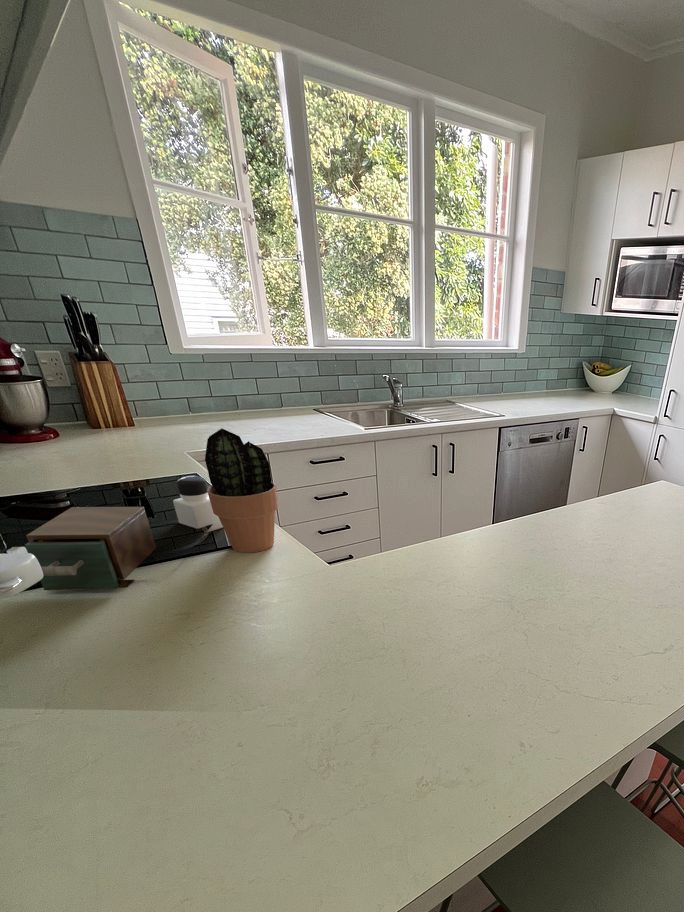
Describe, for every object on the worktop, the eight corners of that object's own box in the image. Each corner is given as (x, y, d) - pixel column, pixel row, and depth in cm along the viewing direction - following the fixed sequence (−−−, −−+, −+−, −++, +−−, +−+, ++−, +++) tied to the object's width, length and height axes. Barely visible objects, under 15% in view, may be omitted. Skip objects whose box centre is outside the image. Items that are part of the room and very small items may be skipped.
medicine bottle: (225, 527, 131) (214, 477, 125) (199, 535, 126) (186, 484, 119) (206, 521, 134) (194, 472, 128) (180, 529, 129) (166, 478, 122)
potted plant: (274, 558, 116) (252, 436, 103) (210, 556, 116) (180, 434, 103) (292, 535, 128) (274, 423, 115) (233, 533, 128) (209, 420, 114)
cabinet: (126, 587, 103) (108, 534, 97) (49, 589, 101) (25, 535, 95) (158, 555, 116) (144, 506, 110) (90, 556, 114) (71, 507, 109)
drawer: (105, 600, 96) (87, 554, 92) (29, 602, 95) (7, 555, 90) (148, 557, 112) (135, 516, 108) (83, 558, 111) (68, 516, 106)
